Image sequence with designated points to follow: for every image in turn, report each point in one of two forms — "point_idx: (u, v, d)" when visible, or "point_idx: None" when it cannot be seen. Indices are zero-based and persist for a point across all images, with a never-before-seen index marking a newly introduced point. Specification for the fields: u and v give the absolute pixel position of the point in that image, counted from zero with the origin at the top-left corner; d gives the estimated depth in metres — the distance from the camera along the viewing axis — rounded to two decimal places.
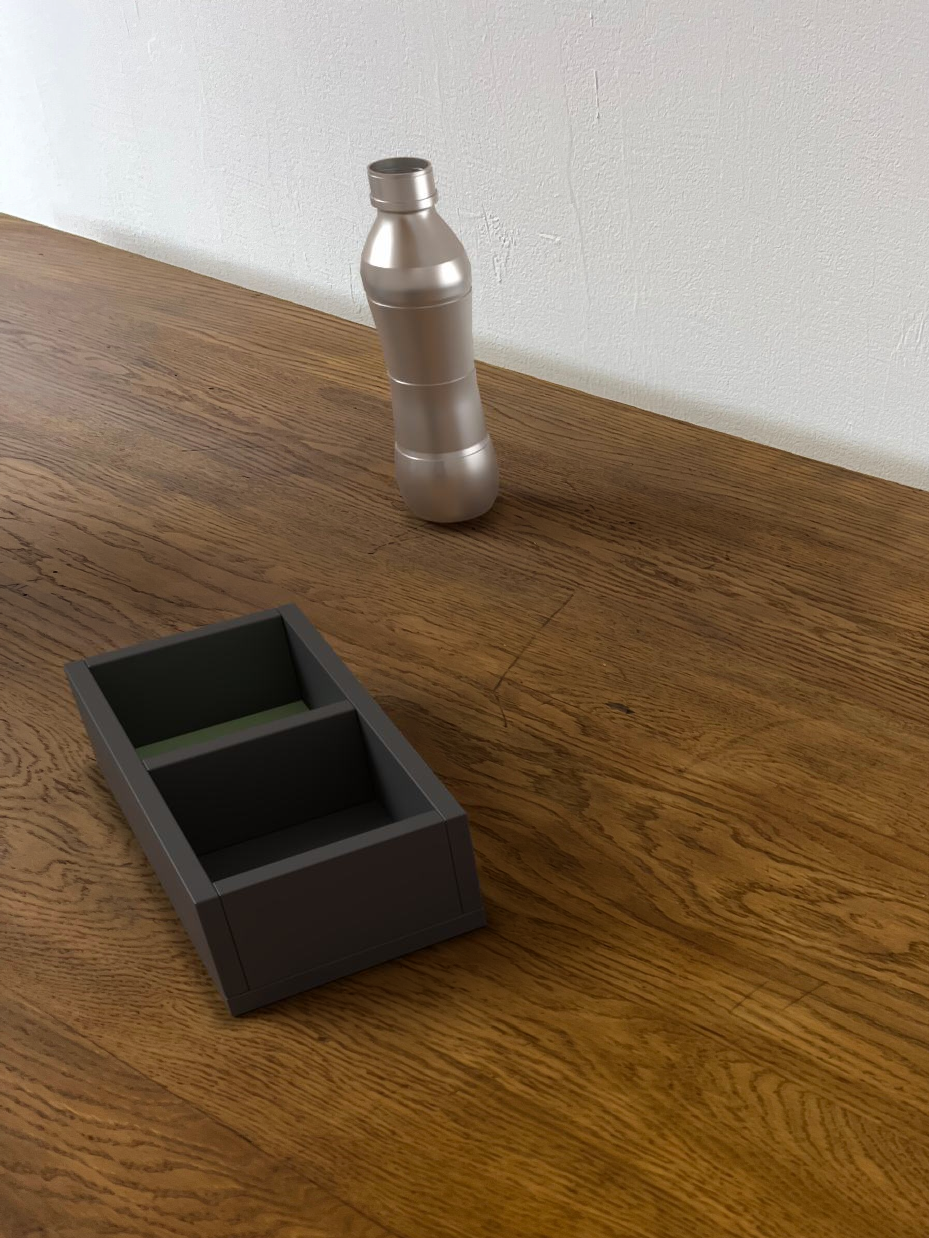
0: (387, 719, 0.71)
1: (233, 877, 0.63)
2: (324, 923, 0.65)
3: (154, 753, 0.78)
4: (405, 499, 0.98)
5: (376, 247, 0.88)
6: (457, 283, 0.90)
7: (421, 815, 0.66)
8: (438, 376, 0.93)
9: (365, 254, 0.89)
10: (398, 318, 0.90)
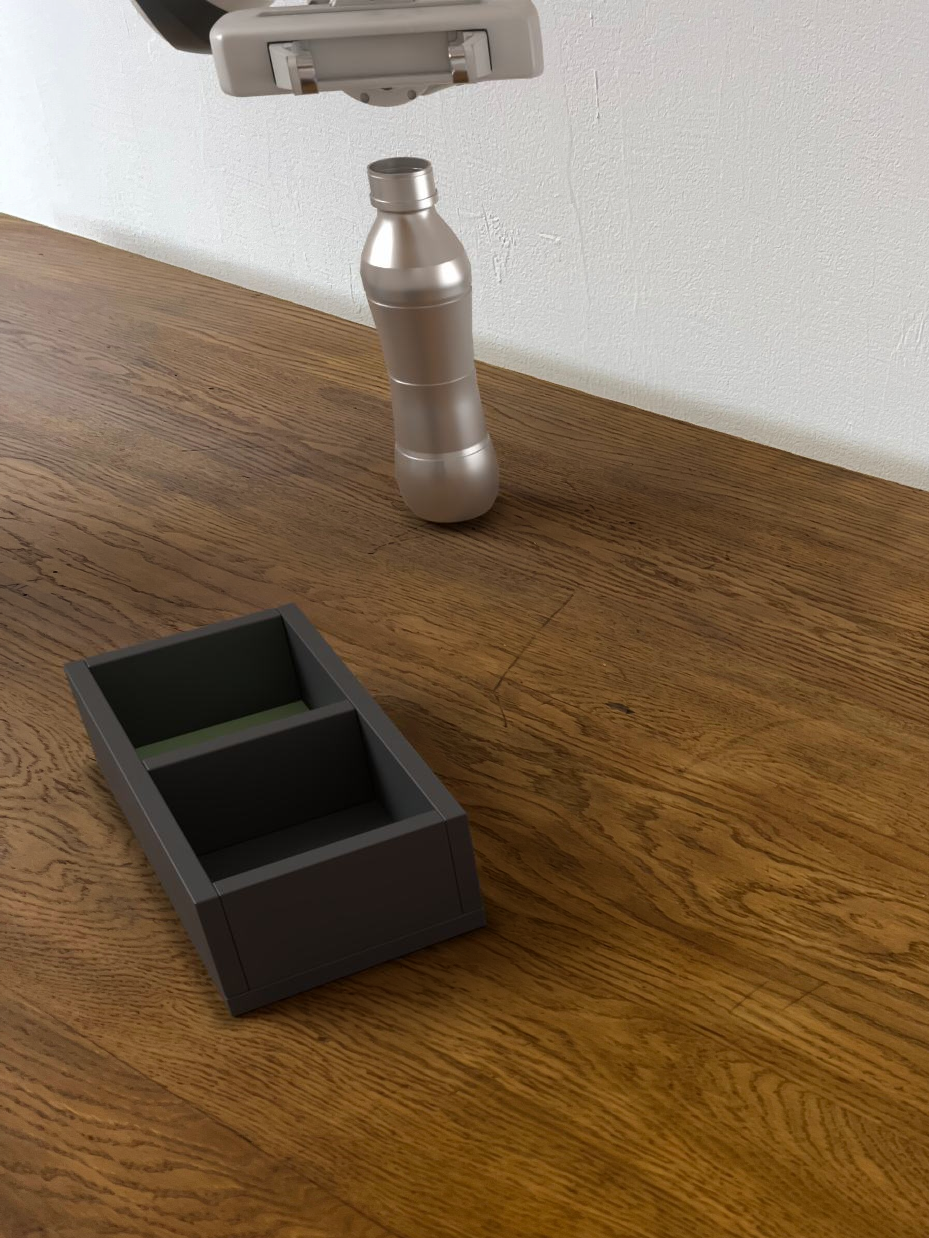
0: (387, 719, 0.71)
1: (233, 877, 0.63)
2: (324, 923, 0.65)
3: (154, 753, 0.78)
4: (405, 499, 0.98)
5: (376, 247, 0.88)
6: (457, 283, 0.90)
7: (421, 815, 0.66)
8: (438, 376, 0.93)
9: (365, 254, 0.89)
10: (398, 318, 0.90)
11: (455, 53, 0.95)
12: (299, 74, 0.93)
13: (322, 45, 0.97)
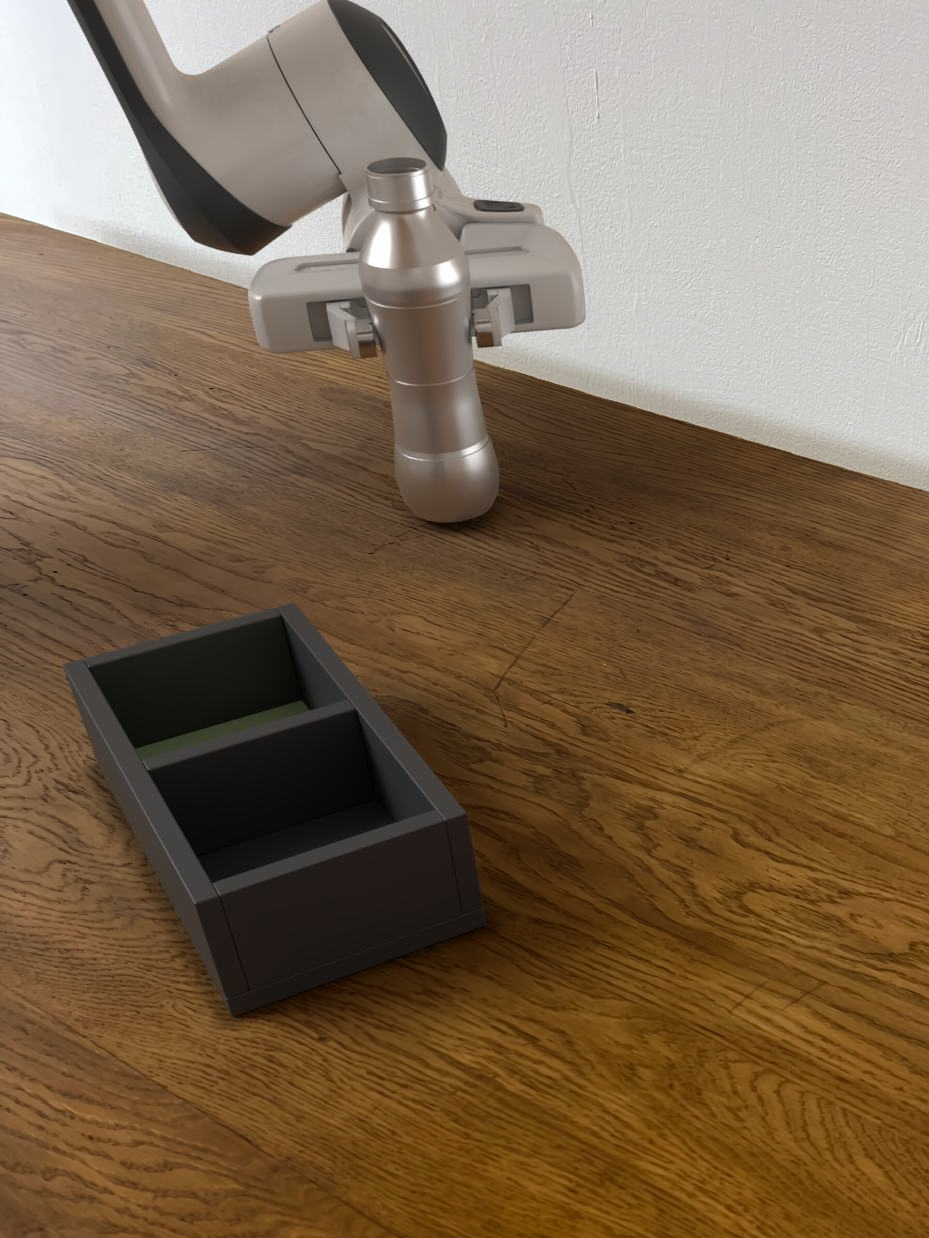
0: (387, 719, 0.71)
1: (233, 877, 0.63)
2: (324, 923, 0.65)
3: (154, 753, 0.78)
4: (405, 499, 0.98)
5: (374, 247, 0.88)
6: (455, 283, 0.90)
7: (421, 815, 0.66)
8: (437, 376, 0.93)
9: (363, 254, 0.89)
10: (397, 318, 0.90)
11: (480, 319, 0.93)
12: (358, 340, 0.92)
13: (362, 302, 0.96)
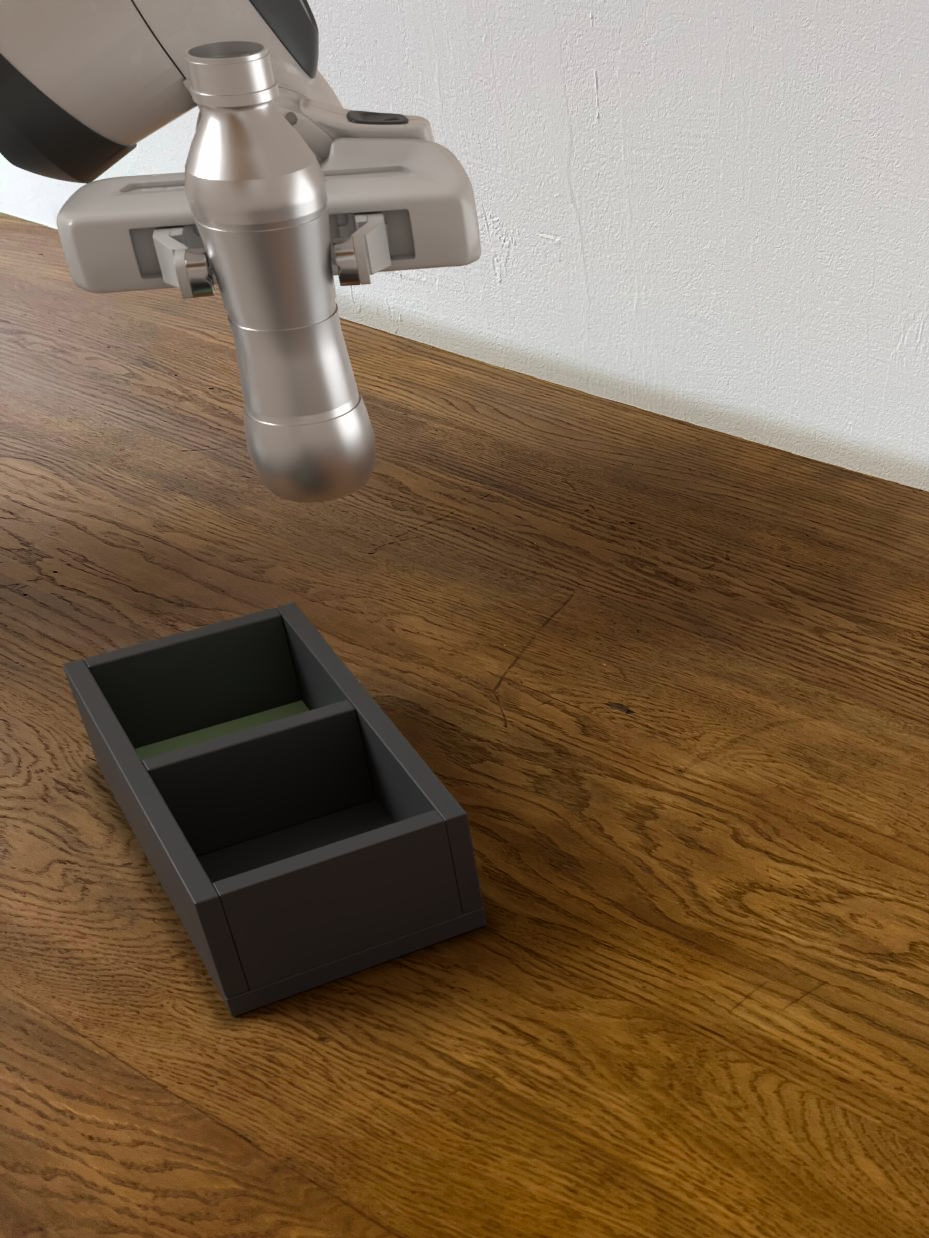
0: (387, 719, 0.71)
1: (233, 877, 0.63)
2: (324, 923, 0.65)
3: (154, 753, 0.78)
4: (258, 474, 0.80)
5: (201, 154, 0.70)
6: (305, 201, 0.72)
7: (421, 815, 0.66)
8: (287, 319, 0.75)
9: (188, 164, 0.71)
10: (232, 245, 0.72)
11: (341, 249, 0.75)
12: (188, 274, 0.74)
13: None
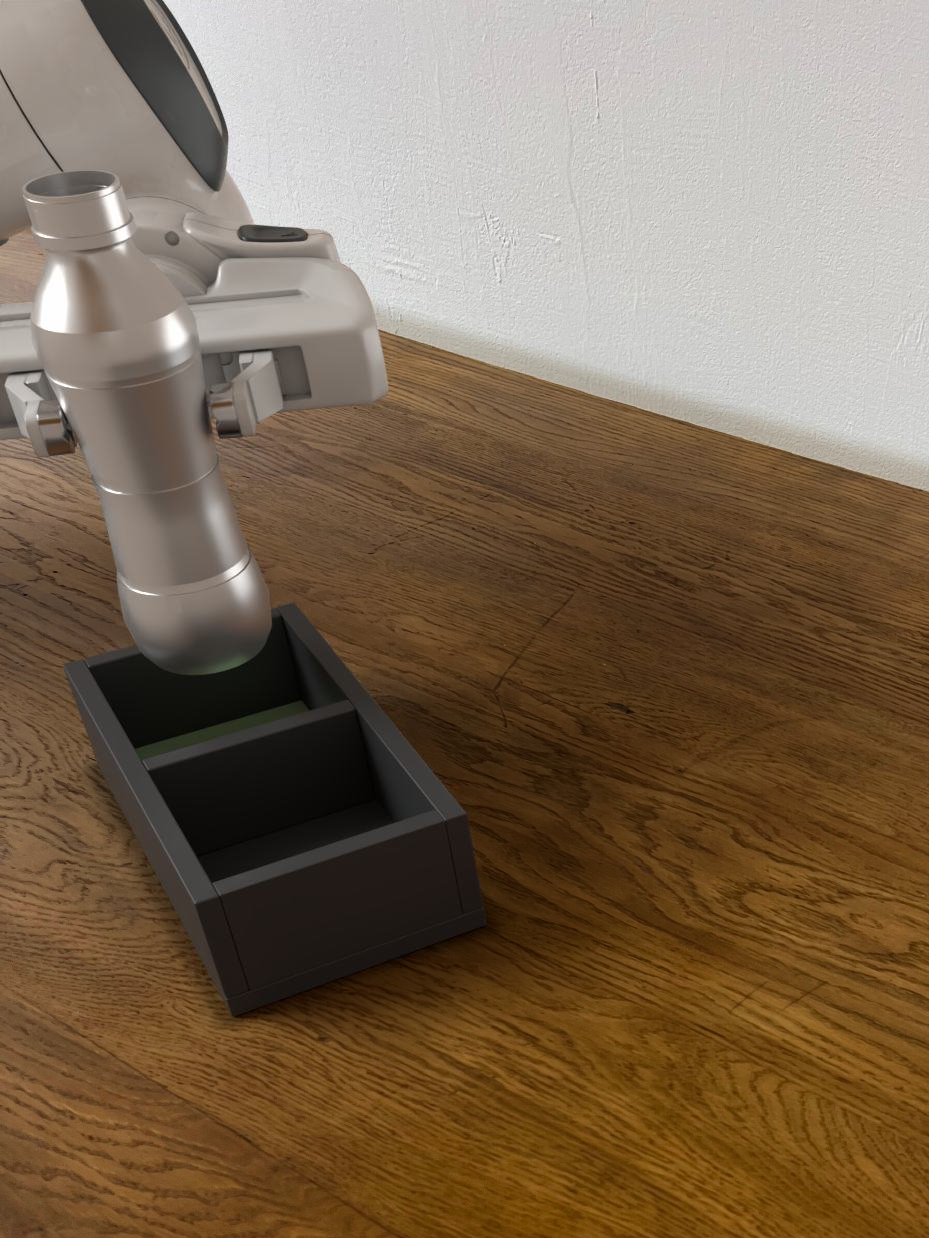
0: (387, 719, 0.71)
1: (233, 877, 0.63)
2: (324, 923, 0.65)
3: (154, 753, 0.78)
4: (136, 643, 0.71)
5: (46, 302, 0.61)
6: (169, 352, 0.62)
7: (421, 815, 0.66)
8: (156, 481, 0.65)
9: (33, 312, 0.61)
10: (86, 403, 0.62)
11: (219, 399, 0.65)
12: (41, 432, 0.64)
13: None
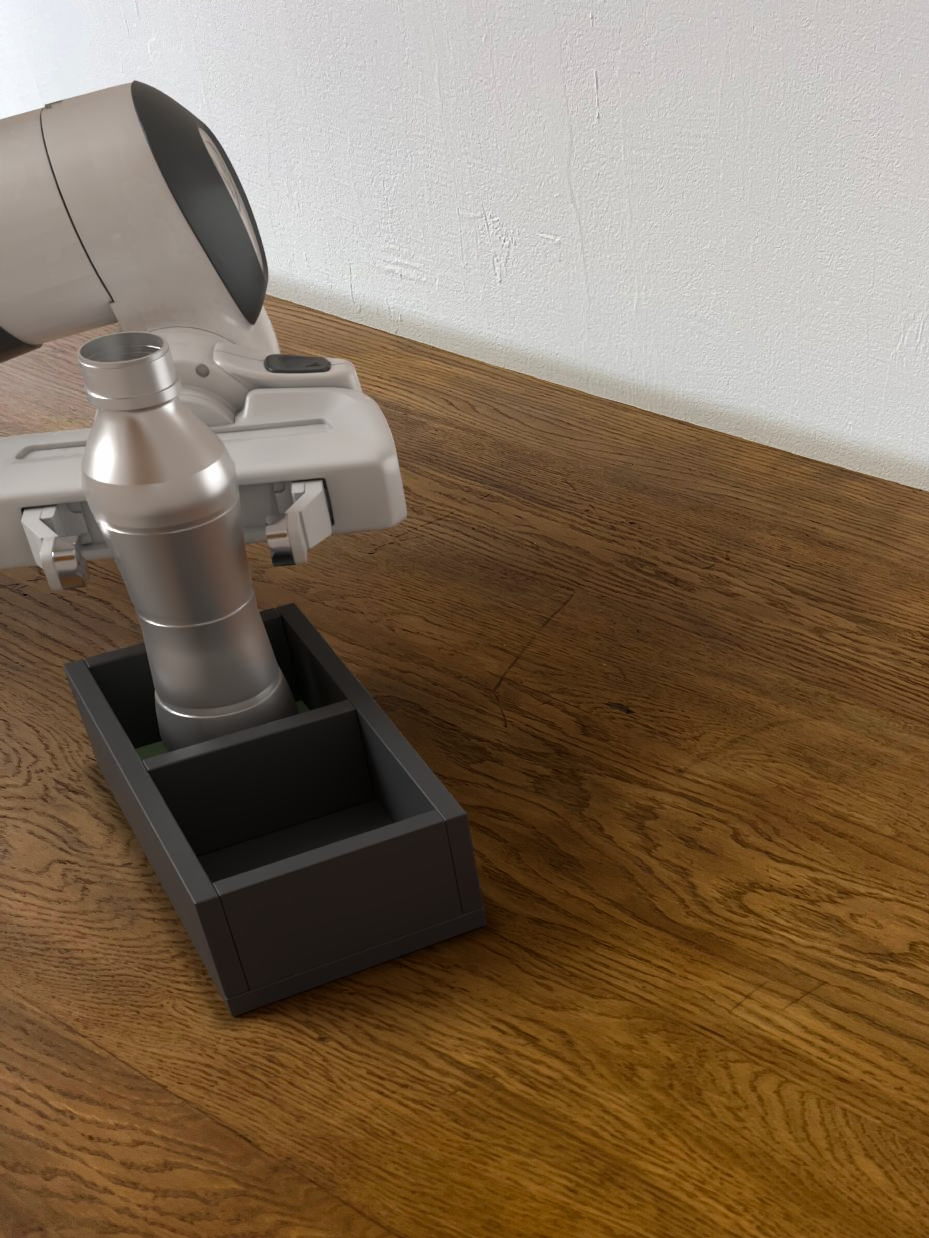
0: (387, 719, 0.71)
1: (233, 877, 0.63)
2: (324, 923, 0.65)
3: (154, 753, 0.78)
4: None
5: (96, 454, 0.65)
6: (211, 499, 0.66)
7: (421, 815, 0.66)
8: (196, 615, 0.69)
9: (84, 462, 0.65)
10: (132, 546, 0.66)
11: (274, 531, 0.69)
12: (56, 568, 0.68)
13: None
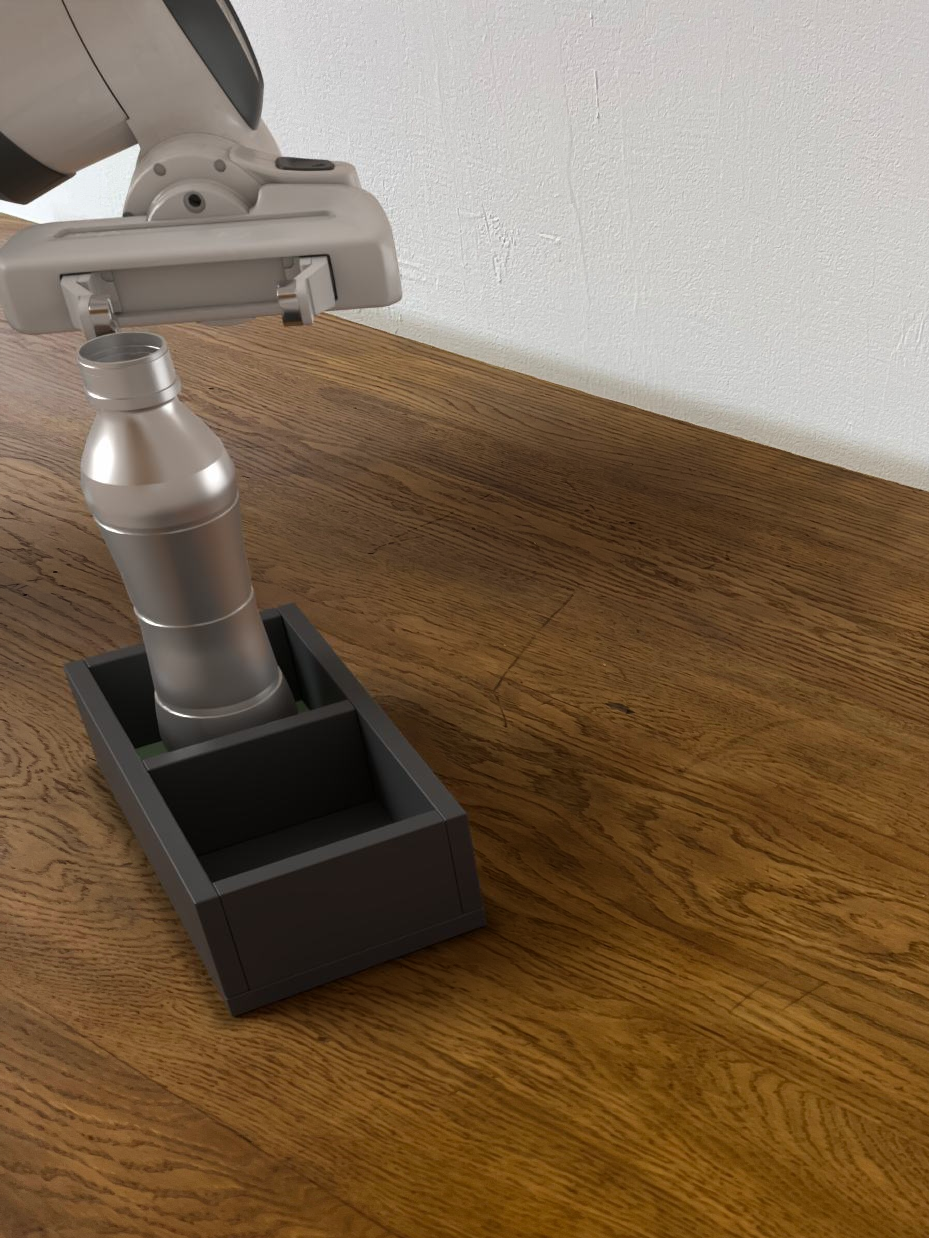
0: (387, 719, 0.71)
1: (233, 877, 0.63)
2: (324, 923, 0.65)
3: (154, 753, 0.78)
4: None
5: (96, 455, 0.65)
6: (211, 500, 0.66)
7: (421, 815, 0.66)
8: (196, 615, 0.69)
9: (83, 463, 0.65)
10: (132, 547, 0.66)
11: (284, 292, 0.78)
12: (92, 320, 0.77)
13: (129, 274, 0.81)
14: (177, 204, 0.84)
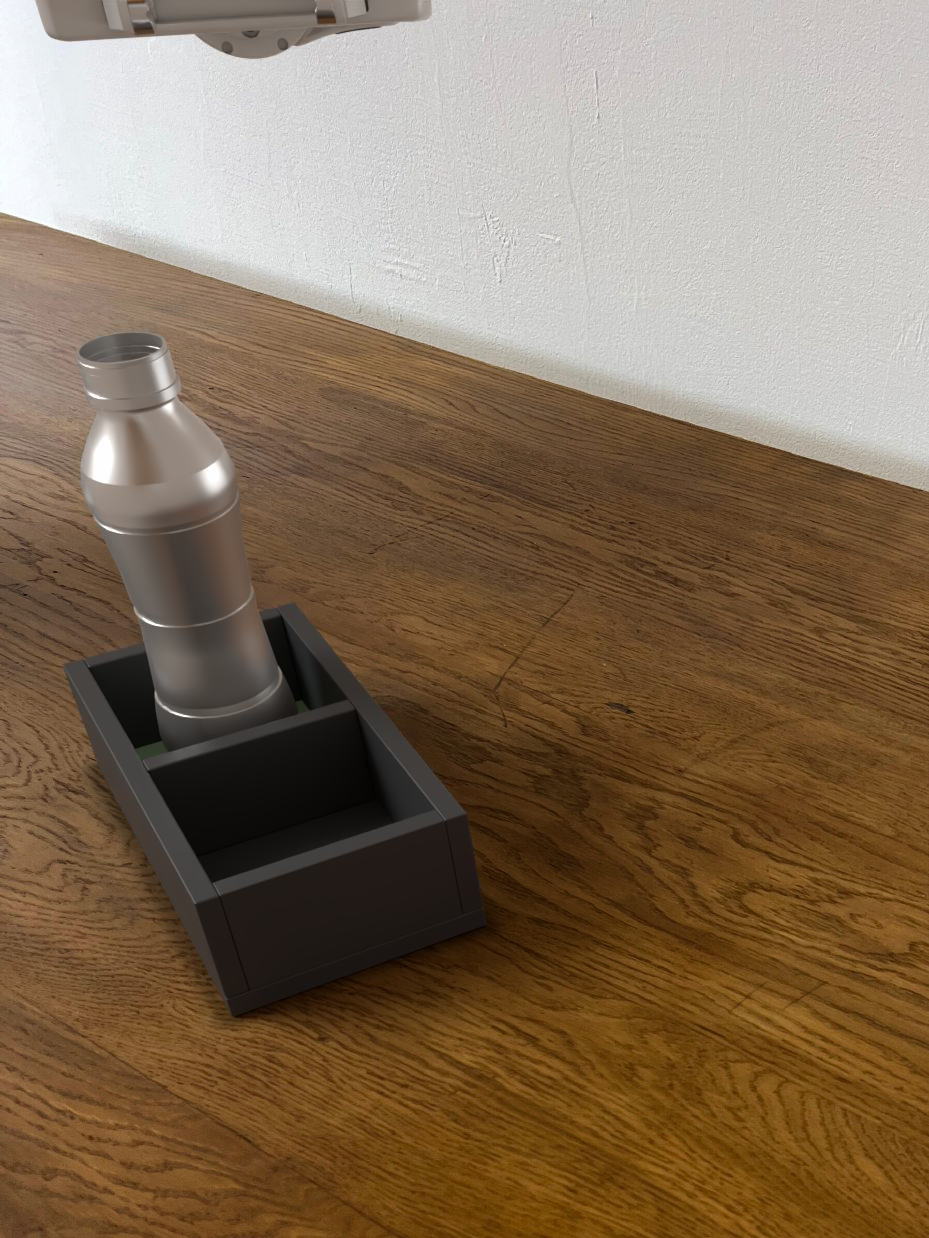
0: (387, 719, 0.71)
1: (233, 877, 0.63)
2: (324, 923, 0.65)
3: (154, 753, 0.78)
4: None
5: (96, 455, 0.65)
6: (211, 500, 0.66)
7: (421, 815, 0.66)
8: (196, 615, 0.69)
9: (83, 463, 0.65)
10: (132, 547, 0.66)
11: None
12: (129, 10, 0.78)
13: None
14: None
